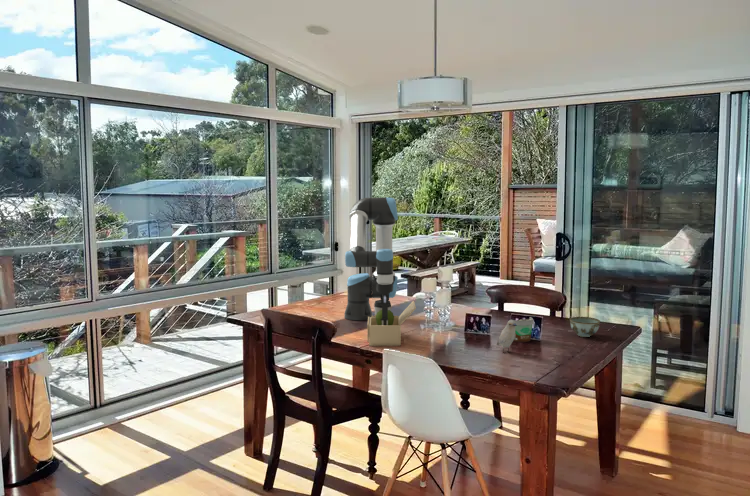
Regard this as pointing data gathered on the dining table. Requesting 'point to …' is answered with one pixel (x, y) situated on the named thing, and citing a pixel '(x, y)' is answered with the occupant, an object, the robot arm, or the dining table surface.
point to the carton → (384, 333)
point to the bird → (507, 335)
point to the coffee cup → (379, 307)
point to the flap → (407, 312)
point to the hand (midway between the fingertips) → (384, 331)
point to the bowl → (584, 326)
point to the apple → (379, 317)
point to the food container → (523, 330)
